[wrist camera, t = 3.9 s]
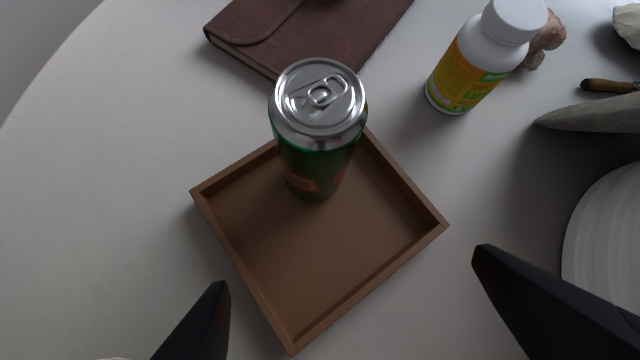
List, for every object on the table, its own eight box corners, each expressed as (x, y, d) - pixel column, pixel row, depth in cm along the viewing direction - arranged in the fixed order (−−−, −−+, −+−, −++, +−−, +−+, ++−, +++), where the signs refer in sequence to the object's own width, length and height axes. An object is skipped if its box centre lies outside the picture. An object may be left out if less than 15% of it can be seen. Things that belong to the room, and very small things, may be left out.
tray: (292, 348, 20) (290, 358, 18) (199, 197, 23) (188, 190, 21) (437, 229, 23) (450, 225, 21) (338, 111, 26) (341, 97, 24)
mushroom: (557, 72, 30) (543, 4, 30) (596, 44, 24) (578, -40, 24) (481, 89, 32) (469, 25, 32) (500, 67, 26) (485, -11, 26)
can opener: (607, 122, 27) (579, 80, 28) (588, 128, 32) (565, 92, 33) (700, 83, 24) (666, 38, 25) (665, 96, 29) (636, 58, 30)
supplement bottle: (445, 125, 27) (520, 50, 17) (413, 84, 28) (466, -5, 19) (485, 102, 28) (576, 20, 18) (452, 64, 29) (522, -30, 20)
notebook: (419, -4, 32) (426, -22, 30) (326, 115, 26) (327, 103, 24) (314, -59, 34) (315, -79, 32) (207, 40, 28) (200, 24, 26)
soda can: (272, 171, 24) (243, 83, 12) (317, 140, 25) (327, 34, 14) (307, 215, 23) (309, 164, 11) (352, 181, 24) (395, 104, 13)
